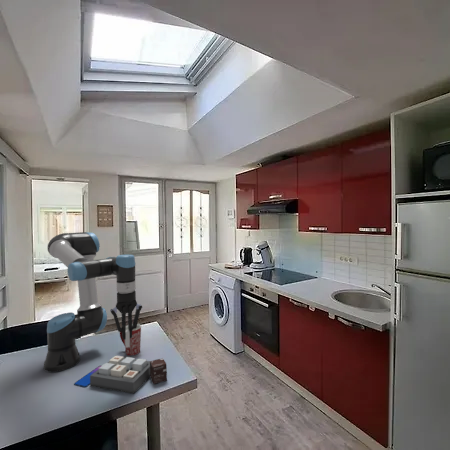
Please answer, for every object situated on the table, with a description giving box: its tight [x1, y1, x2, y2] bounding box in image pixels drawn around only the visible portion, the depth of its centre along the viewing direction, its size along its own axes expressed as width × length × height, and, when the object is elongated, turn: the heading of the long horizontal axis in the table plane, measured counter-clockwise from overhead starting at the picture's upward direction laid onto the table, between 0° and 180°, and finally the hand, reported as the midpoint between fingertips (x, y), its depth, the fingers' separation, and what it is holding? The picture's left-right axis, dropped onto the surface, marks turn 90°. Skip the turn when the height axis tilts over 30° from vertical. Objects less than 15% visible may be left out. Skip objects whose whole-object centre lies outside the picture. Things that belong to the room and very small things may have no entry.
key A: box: [108, 355, 125, 366], centre depth 120 cm, size 4×4×3 cm
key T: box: [111, 365, 126, 377], centre depth 112 cm, size 4×4×3 cm
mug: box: [119, 323, 142, 357], centre depth 140 cm, size 13×9×14 cm
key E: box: [132, 358, 148, 372], centre depth 117 cm, size 4×4×3 cm
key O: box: [99, 362, 115, 375], centre depth 114 cm, size 4×4×3 cm
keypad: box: [89, 357, 151, 395], centre depth 116 cm, size 21×16×4 cm
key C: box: [123, 370, 139, 379], centre depth 111 cm, size 4×4×3 cm
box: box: [149, 357, 168, 385], centre depth 115 cm, size 6×6×7 cm
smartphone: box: [73, 365, 102, 388], centre depth 118 cm, size 7×1×15 cm
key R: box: [121, 356, 136, 370], centre depth 119 cm, size 4×4×3 cm
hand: (127, 345), depth 112 cm, fingers closed
